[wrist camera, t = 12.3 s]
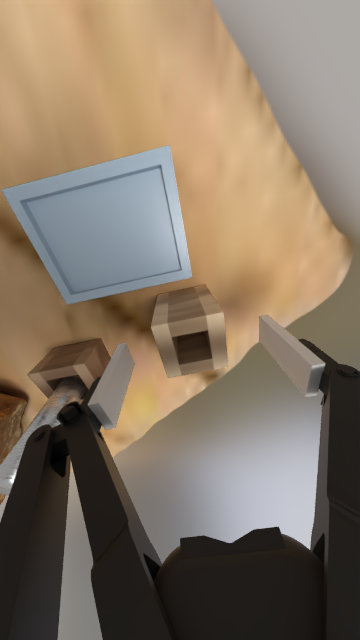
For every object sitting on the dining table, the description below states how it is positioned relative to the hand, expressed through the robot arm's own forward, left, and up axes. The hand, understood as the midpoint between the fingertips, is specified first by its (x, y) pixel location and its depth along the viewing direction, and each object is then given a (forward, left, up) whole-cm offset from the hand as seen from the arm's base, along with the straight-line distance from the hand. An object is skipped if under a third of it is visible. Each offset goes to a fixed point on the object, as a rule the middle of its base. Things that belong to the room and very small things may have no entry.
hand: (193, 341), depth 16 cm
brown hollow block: (+5, -16, -6) cm, 18 cm away
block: (0, 0, -6) cm, 6 cm away
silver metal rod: (+5, -16, -6) cm, 18 cm away
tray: (-10, -6, -6) cm, 14 cm away
